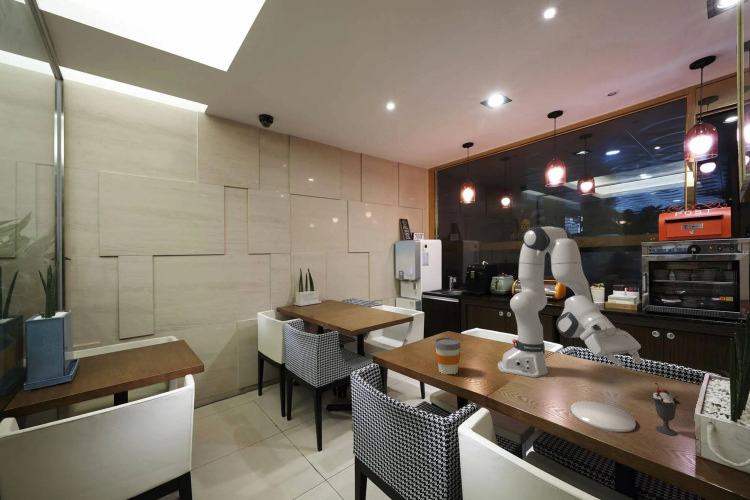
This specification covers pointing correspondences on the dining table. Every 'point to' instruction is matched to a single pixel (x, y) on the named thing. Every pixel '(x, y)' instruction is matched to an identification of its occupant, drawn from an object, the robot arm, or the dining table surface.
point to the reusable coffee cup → (447, 355)
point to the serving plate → (603, 416)
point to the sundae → (665, 409)
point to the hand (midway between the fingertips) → (630, 364)
